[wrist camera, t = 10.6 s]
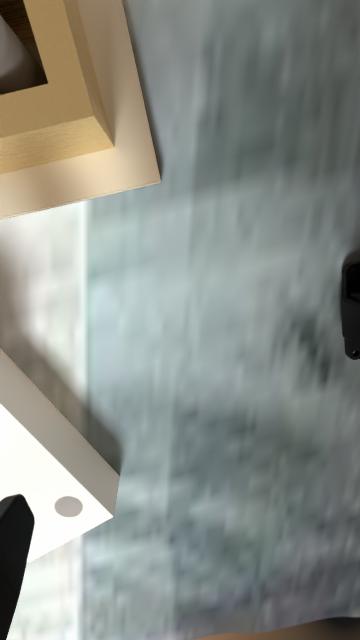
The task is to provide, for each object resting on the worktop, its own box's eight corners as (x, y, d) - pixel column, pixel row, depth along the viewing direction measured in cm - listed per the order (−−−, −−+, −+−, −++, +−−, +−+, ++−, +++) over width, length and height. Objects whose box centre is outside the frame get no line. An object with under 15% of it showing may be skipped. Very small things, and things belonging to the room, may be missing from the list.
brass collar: (75, -3, 13) (29, -124, 9) (114, 147, 15) (94, 115, 11) (-56, 29, 13) (-173, -74, 9) (-1, 174, 15) (-72, 155, 11)
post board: (108, -58, 13) (73, -249, 8) (160, 182, 17) (161, 165, 11) (-109, -7, 14) (-292, -159, 8) (-16, 223, 17) (-101, 225, 11)
